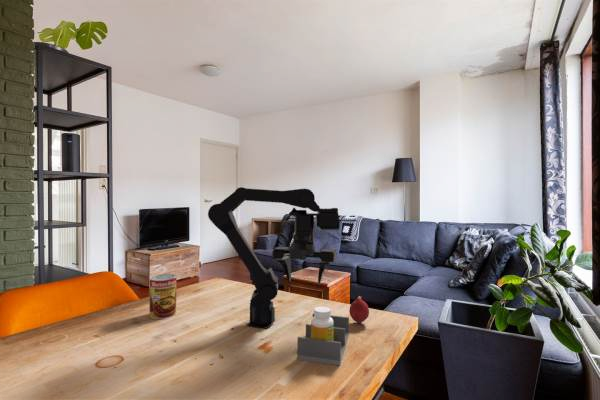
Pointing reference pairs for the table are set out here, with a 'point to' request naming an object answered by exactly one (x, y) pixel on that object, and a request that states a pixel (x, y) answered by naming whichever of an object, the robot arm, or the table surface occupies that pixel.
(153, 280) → the canned food
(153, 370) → the table surface
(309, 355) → the rack
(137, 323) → the table surface
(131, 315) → the table surface
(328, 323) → the supplement bottle
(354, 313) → the onion
